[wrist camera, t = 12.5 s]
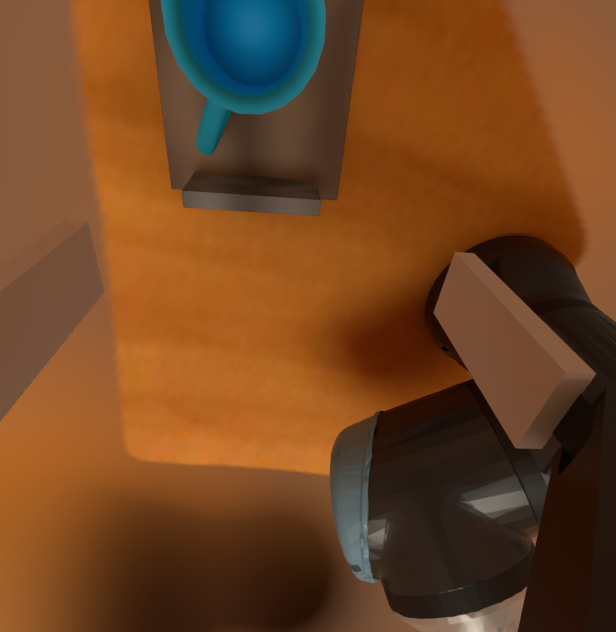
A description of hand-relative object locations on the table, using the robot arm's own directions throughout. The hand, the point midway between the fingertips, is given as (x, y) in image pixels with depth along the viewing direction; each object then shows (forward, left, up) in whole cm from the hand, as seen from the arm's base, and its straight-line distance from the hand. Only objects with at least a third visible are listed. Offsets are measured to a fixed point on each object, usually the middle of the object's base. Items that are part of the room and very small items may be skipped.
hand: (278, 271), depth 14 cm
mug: (+3, -6, -20) cm, 21 cm away
